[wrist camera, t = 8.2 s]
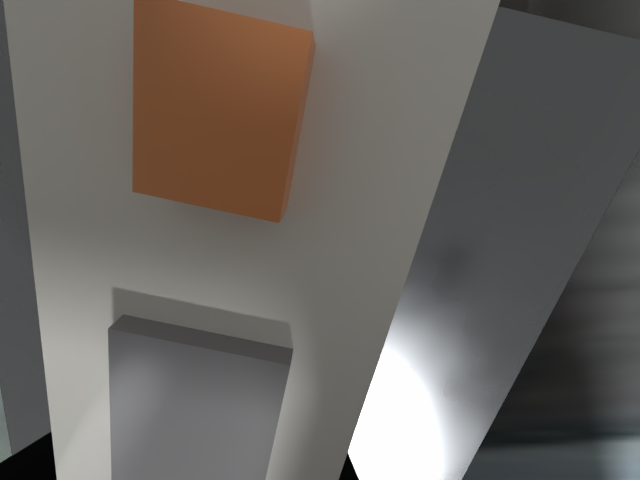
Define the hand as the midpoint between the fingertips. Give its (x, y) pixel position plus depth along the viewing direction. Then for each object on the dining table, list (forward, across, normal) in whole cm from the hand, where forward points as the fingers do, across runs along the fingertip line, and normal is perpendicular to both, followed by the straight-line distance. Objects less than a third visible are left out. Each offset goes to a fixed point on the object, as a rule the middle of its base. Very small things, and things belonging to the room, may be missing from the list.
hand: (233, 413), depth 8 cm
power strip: (+3, 0, 0) cm, 3 cm away
